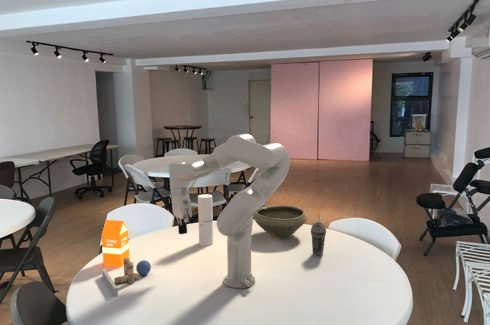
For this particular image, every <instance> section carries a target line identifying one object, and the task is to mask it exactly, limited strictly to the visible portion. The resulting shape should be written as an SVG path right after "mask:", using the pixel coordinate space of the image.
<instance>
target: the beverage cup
mask: <svg viewBox="0 0 490 325" xmlns="http://www.w3.org/2000/svg"><path fill="white" fill-rule="evenodd" d="M317 216H318V221H317V222H315V223H313V224H312V226H311V228H310V235H311V244H312V245H311V247H312V255H313V256H314V255H316V256H315V257H322V256H323V254H324V248H325V247H324V246H325V239H326V236H327V235H326V234H327V229H326V226H325V225H324V224H323V223H322V222H320V216H321V214H320V213H319V214H318V215H317ZM321 255H322V256H321Z"/></svg>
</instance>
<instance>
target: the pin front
mask: <svg viewBox="0 0 490 325" xmlns="http://www.w3.org/2000/svg"><path fill="white" fill-rule="evenodd" d="M135 280H138V275H137V272H134V281H135ZM113 282H114V283H115V285H117V284H123V283H126V282H127V283H128V275H126V276H124V275H122V276H117V277H114V279H113Z"/></svg>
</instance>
